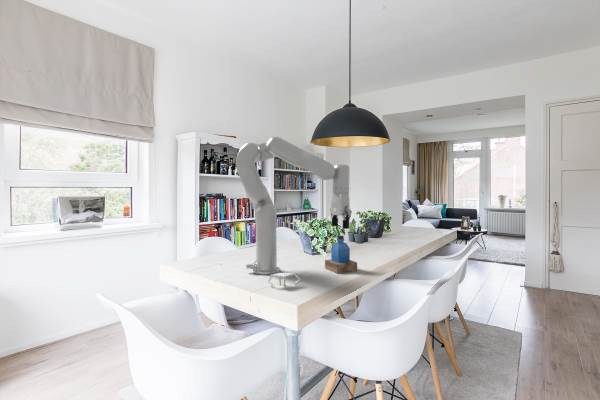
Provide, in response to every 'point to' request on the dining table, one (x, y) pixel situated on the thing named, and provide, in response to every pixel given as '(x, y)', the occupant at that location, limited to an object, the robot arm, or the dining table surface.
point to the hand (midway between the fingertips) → (340, 227)
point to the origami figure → (283, 277)
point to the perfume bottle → (340, 251)
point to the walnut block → (341, 266)
